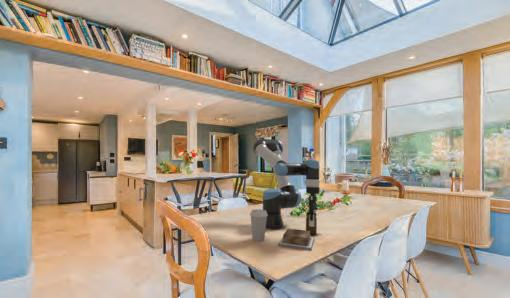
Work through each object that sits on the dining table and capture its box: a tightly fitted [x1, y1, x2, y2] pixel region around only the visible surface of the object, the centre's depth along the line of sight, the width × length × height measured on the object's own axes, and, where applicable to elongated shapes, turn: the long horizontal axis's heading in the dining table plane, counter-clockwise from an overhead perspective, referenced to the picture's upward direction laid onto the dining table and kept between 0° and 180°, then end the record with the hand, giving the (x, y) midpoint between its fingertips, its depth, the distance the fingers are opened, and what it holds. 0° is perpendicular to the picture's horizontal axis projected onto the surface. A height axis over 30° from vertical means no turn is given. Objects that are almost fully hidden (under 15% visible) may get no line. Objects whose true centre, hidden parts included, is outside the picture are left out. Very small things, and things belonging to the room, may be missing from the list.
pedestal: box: [282, 228, 311, 246], centre depth 121 cm, size 12×12×4 cm
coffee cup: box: [249, 208, 268, 243], centre depth 125 cm, size 10×10×15 cm
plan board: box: [277, 236, 315, 251], centre depth 121 cm, size 16×16×1 cm
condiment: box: [305, 211, 323, 238], centre depth 136 cm, size 7×8×12 cm
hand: (312, 223), depth 136 cm, fingers open, 13 cm apart
